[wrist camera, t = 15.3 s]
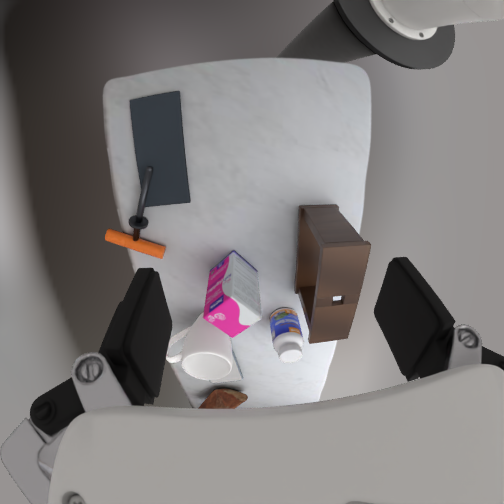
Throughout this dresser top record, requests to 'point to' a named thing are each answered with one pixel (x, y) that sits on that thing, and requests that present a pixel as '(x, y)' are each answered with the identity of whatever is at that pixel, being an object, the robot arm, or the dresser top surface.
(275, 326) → the pill bottle
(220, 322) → the supplement box
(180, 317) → the dresser top surface
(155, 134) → the mat
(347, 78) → the dresser top surface
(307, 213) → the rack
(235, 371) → the smartphone
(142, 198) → the T-handle
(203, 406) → the reddish-brown rock
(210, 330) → the mug
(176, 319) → the dresser top surface
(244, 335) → the dresser top surface
